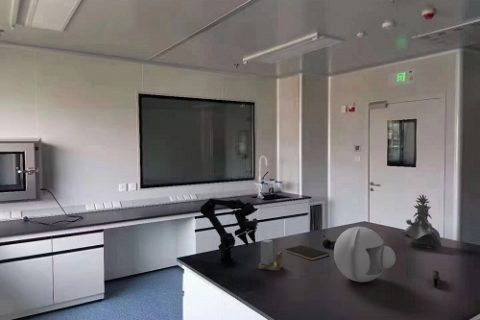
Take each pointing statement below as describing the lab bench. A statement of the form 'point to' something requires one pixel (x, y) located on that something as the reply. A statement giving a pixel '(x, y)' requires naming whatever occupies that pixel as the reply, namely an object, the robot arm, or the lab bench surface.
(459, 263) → the lab bench surface
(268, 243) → the grey tapered block
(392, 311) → the lab bench surface
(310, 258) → the hardcover book
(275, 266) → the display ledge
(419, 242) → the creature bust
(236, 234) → the robot arm
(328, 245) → the headset
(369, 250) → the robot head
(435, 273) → the mobile phone
